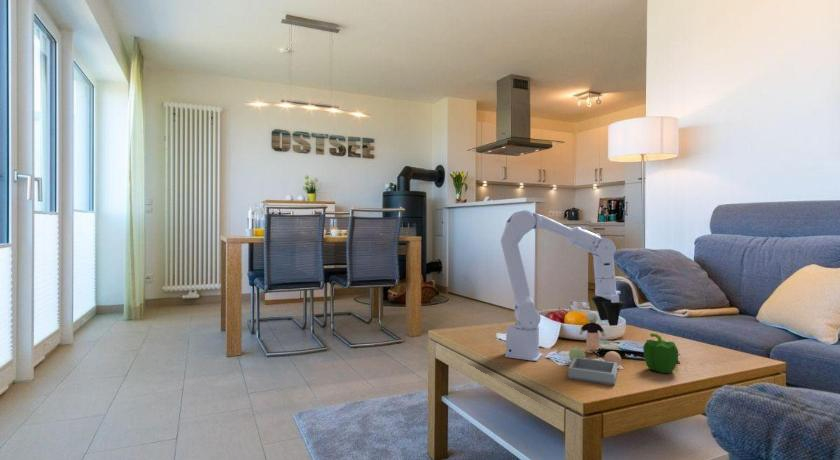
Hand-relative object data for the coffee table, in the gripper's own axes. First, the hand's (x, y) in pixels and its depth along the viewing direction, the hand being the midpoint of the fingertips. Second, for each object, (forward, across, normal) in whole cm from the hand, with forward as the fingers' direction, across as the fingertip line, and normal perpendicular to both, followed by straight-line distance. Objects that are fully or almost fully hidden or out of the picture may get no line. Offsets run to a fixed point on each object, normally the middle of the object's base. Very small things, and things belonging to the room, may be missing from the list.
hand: (608, 322), depth 136 cm
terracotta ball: (+10, -9, +3) cm, 14 cm away
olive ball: (+10, -6, +12) cm, 16 cm away
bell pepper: (+12, -11, -9) cm, 19 cm away
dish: (+10, -17, +11) cm, 22 cm away
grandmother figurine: (+11, +6, +4) cm, 13 cm away
